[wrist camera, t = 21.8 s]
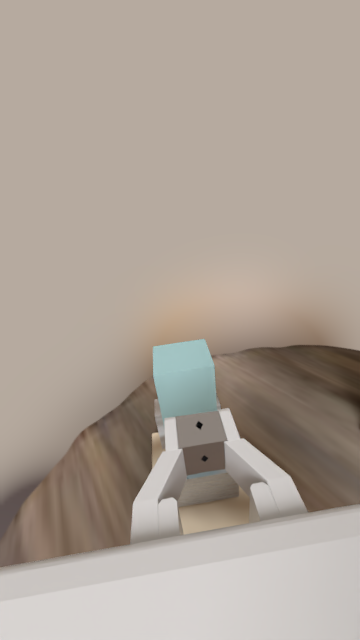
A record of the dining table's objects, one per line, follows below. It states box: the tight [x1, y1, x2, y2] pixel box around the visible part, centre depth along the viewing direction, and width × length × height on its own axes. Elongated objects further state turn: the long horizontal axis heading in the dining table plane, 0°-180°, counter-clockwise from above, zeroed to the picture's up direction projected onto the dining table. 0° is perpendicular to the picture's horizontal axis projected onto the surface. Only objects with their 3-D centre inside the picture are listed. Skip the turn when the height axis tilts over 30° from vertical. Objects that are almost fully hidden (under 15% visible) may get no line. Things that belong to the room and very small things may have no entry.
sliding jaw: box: [157, 458, 239, 507], centre depth 30 cm, size 3×9×5 cm, turn 96°
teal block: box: [153, 339, 217, 425], centre depth 30 cm, size 5×6×18 cm
